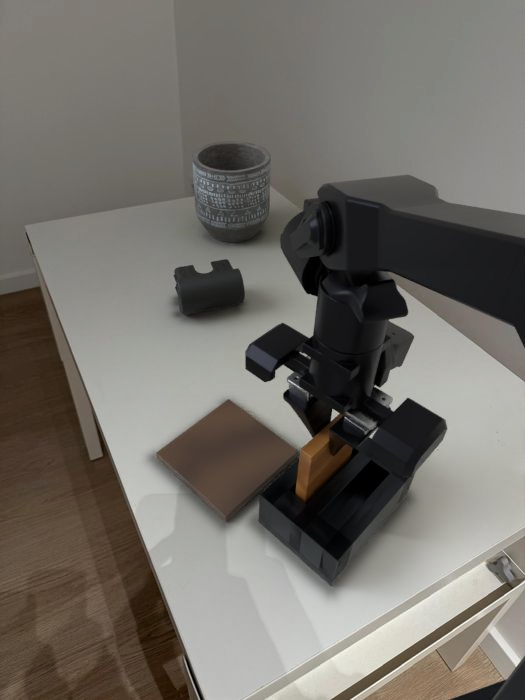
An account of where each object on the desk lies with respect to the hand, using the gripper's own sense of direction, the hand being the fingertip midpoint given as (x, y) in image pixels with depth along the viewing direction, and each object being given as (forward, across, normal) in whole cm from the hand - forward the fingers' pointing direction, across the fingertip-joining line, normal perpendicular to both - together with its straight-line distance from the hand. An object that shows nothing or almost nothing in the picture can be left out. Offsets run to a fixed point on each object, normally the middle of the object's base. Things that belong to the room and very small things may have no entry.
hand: (328, 447), depth 52 cm
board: (+9, +12, +4) cm, 15 cm away
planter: (+10, +50, -35) cm, 62 cm away
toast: (+6, 0, 0) cm, 6 cm away
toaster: (+9, -2, 0) cm, 10 cm away
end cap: (+10, +35, -15) cm, 39 cm away
